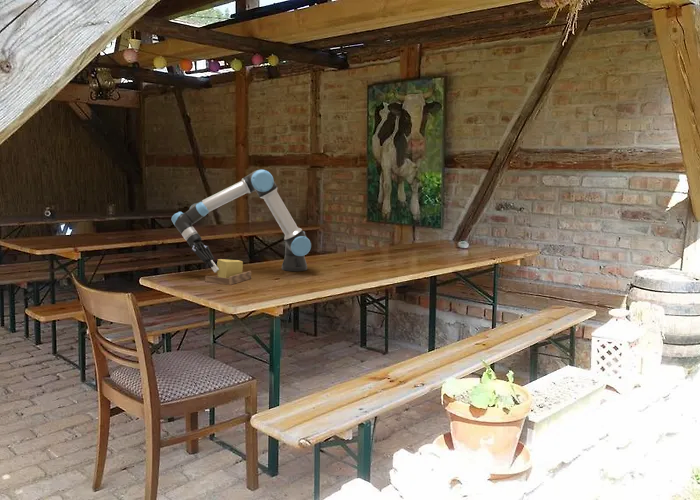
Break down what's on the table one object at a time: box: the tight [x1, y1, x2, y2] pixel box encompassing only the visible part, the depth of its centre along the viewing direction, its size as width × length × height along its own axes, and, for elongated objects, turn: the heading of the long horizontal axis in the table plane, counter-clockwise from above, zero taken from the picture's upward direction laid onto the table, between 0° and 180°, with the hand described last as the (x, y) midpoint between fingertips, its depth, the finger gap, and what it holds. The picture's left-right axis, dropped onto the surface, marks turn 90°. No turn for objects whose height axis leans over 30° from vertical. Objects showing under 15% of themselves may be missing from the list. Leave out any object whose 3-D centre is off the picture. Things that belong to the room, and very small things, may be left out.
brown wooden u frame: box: [205, 270, 252, 286], centre depth 324 cm, size 20×15×4 cm
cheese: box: [216, 258, 244, 278], centre depth 325 cm, size 10×11×10 cm
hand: (217, 271), depth 324 cm, fingers closed
